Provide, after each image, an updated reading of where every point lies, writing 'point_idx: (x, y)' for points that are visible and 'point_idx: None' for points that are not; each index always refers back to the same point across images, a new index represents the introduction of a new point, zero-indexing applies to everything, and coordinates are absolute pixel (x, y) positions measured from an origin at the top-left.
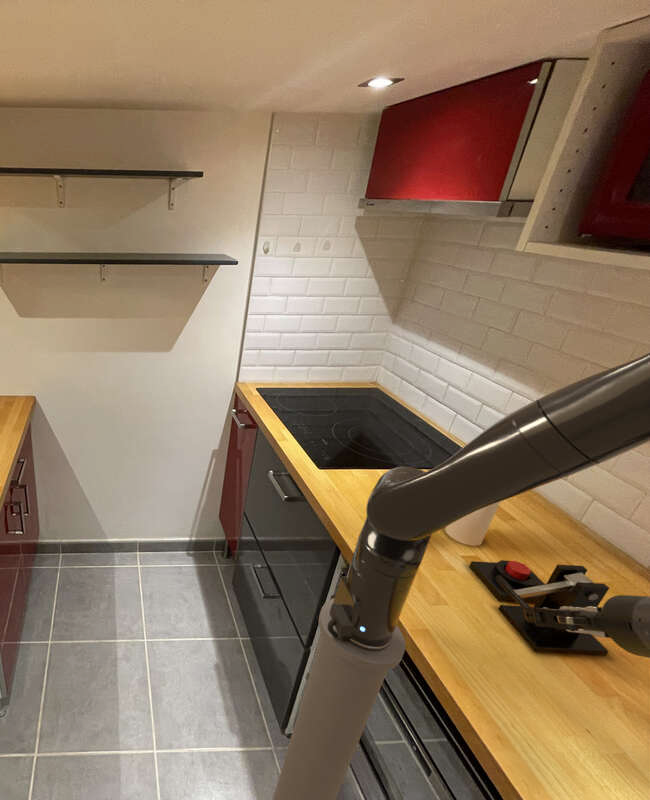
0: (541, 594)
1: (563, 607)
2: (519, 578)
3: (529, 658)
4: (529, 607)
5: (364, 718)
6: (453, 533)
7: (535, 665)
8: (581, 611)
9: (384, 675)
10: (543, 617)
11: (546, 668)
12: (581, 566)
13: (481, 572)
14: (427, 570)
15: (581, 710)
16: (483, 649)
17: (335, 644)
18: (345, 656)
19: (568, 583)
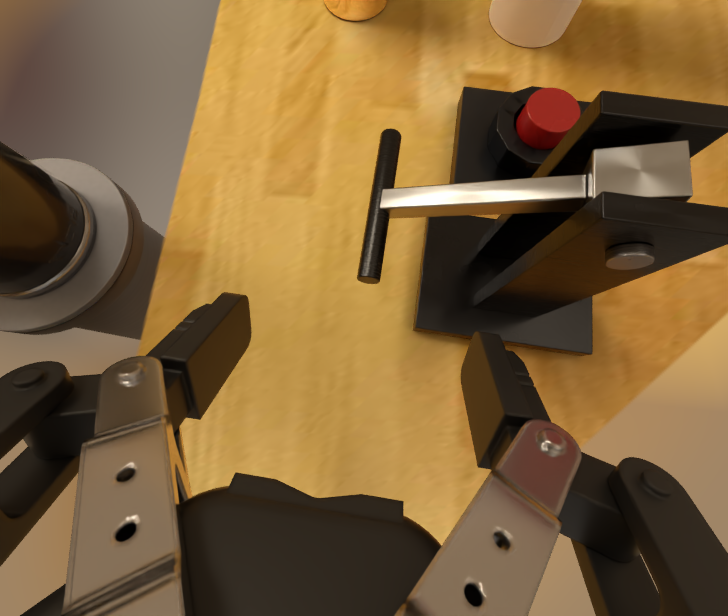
0: (461, 215)
1: (86, 455)
2: (532, 143)
3: (383, 344)
4: (213, 305)
5: None
6: (495, 6)
7: (381, 362)
8: (477, 339)
9: (120, 320)
10: (32, 442)
11: (401, 372)
12: (718, 109)
13: (460, 119)
14: (343, 105)
15: (385, 477)
16: (291, 313)
17: None
18: None
19: (583, 186)
